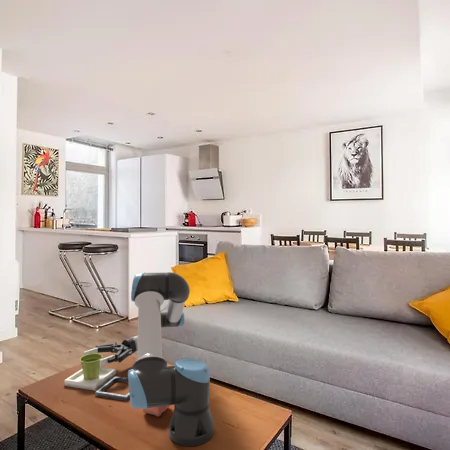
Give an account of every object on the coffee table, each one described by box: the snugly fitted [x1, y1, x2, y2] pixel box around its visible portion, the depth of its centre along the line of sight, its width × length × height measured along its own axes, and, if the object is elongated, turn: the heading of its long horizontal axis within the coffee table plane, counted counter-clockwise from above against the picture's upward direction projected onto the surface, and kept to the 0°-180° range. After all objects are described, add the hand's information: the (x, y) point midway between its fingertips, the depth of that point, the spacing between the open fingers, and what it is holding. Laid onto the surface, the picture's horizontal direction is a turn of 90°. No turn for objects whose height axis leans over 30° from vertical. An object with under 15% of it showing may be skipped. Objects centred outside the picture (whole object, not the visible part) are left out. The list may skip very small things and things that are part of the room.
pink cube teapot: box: [142, 405, 171, 417], centre depth 122 cm, size 8×12×8 cm, turn 66°
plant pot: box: [79, 353, 104, 380], centre depth 146 cm, size 9×9×9 cm
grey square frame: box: [94, 375, 130, 402], centre depth 137 cm, size 14×14×2 cm
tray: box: [64, 366, 117, 392], centre depth 145 cm, size 15×15×2 cm
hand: (91, 358), depth 145 cm, fingers open, 13 cm apart
